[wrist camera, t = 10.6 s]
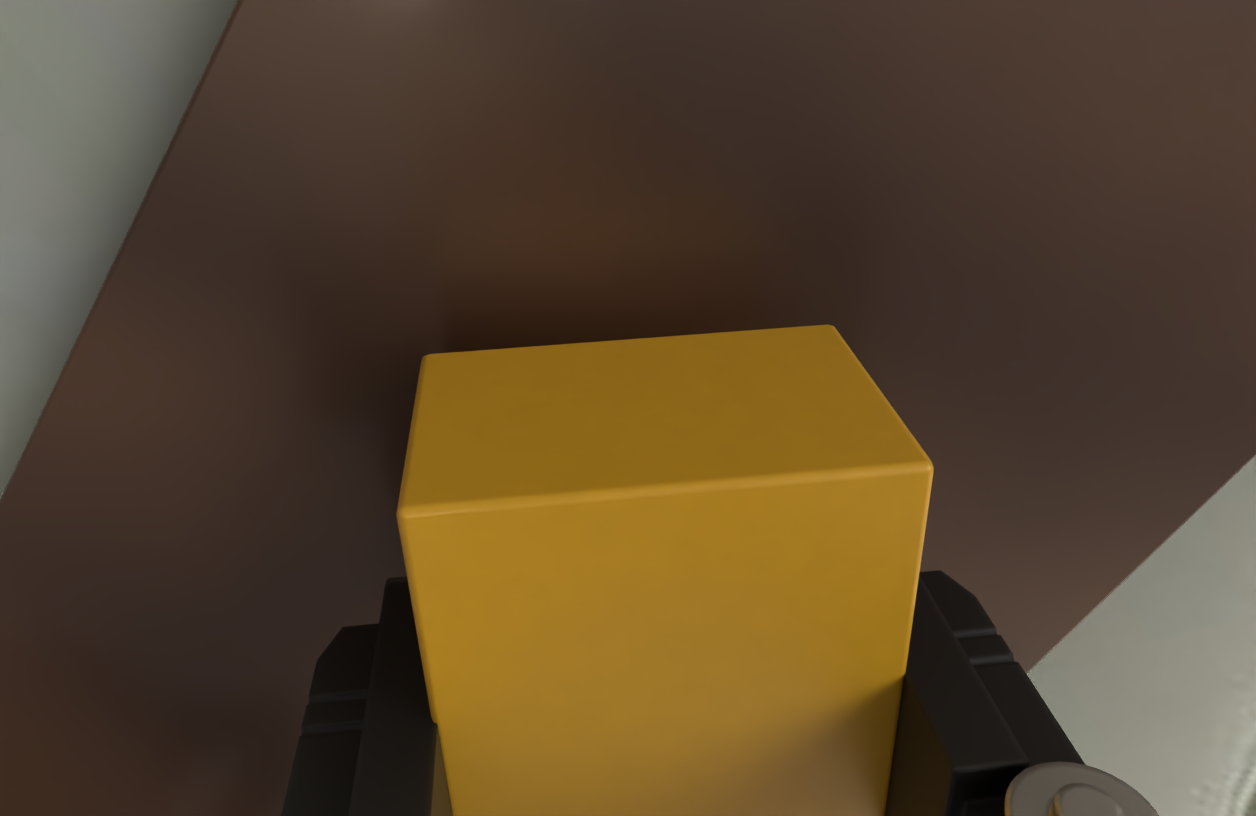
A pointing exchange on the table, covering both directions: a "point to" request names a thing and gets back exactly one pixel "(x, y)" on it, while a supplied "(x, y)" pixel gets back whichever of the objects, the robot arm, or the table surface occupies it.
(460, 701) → the block
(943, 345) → the desk pad
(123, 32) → the table surface
